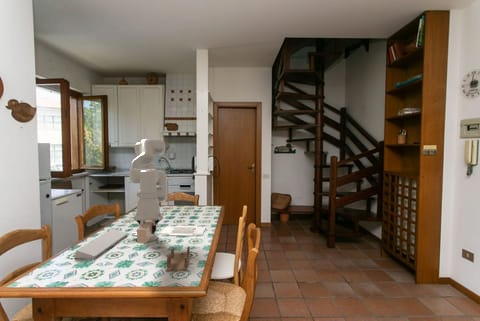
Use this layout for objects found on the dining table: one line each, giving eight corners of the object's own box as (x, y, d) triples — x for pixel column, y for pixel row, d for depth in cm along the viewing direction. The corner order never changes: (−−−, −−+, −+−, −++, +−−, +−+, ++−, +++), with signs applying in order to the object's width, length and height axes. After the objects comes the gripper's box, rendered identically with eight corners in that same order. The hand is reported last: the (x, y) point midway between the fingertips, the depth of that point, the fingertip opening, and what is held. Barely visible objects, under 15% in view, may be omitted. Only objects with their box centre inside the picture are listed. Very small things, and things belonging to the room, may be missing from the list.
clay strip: (137, 243, 111) (136, 229, 110) (150, 227, 132) (150, 215, 132) (146, 242, 111) (146, 229, 111) (158, 226, 133) (158, 215, 132)
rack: (166, 271, 114) (166, 260, 114) (172, 254, 132) (172, 245, 132) (186, 270, 115) (186, 260, 115) (190, 254, 133) (190, 245, 133)
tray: (202, 237, 161) (201, 231, 161) (158, 238, 161) (158, 232, 161) (206, 227, 181) (206, 222, 181) (167, 228, 181) (167, 223, 181)
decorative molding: (125, 240, 161) (111, 235, 161) (127, 233, 160) (113, 228, 161) (92, 265, 127) (73, 259, 127) (94, 256, 126) (76, 250, 127)
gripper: (127, 197, 116) (128, 236, 117) (164, 197, 118) (164, 235, 119) (132, 194, 124) (133, 230, 125) (167, 194, 125) (167, 230, 126)
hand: (148, 232), depth 122 cm, fingers closed on clay strip, 4 cm apart
